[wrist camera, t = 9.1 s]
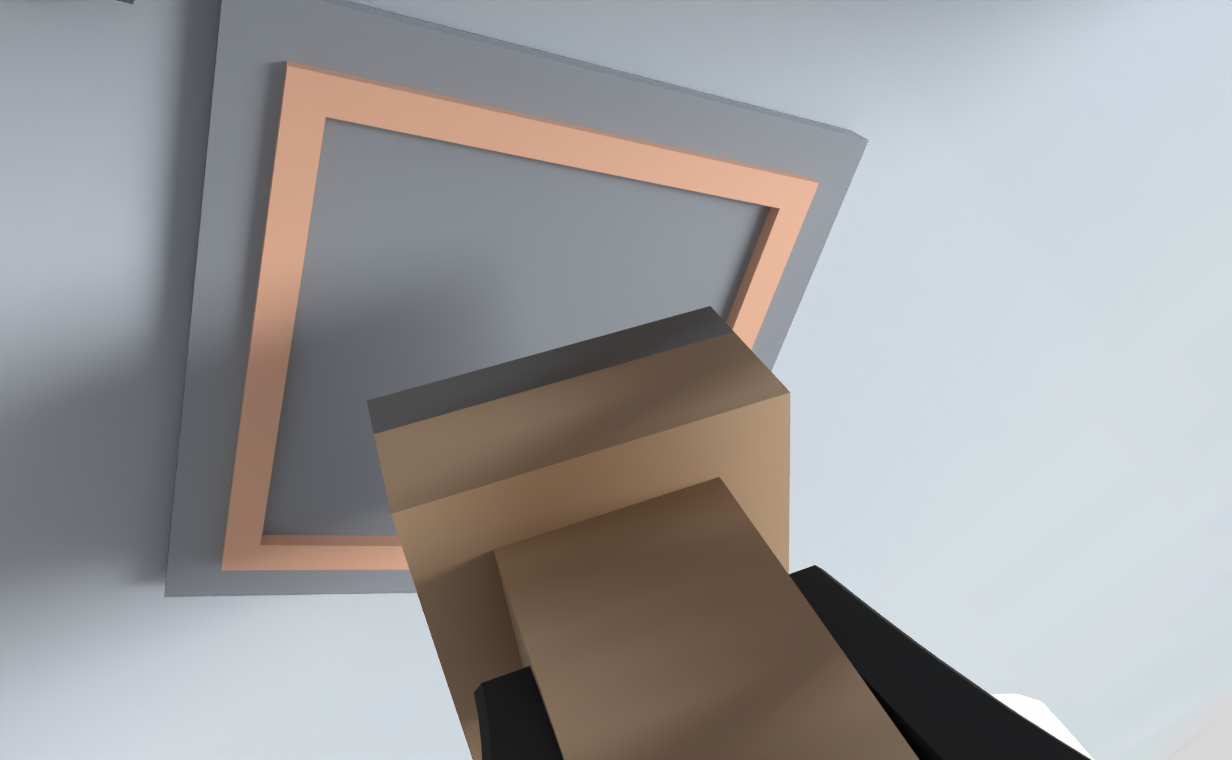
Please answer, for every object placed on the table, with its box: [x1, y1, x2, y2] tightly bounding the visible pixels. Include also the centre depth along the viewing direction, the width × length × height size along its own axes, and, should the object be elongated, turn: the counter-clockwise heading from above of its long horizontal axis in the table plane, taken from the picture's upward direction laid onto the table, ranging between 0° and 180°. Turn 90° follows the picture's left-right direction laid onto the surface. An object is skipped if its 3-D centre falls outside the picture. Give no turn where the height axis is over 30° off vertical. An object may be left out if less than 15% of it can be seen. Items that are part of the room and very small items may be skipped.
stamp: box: [367, 306, 919, 760], centre depth 11 cm, size 5×5×8 cm
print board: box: [164, 0, 868, 597], centre depth 17 cm, size 11×11×1 cm
